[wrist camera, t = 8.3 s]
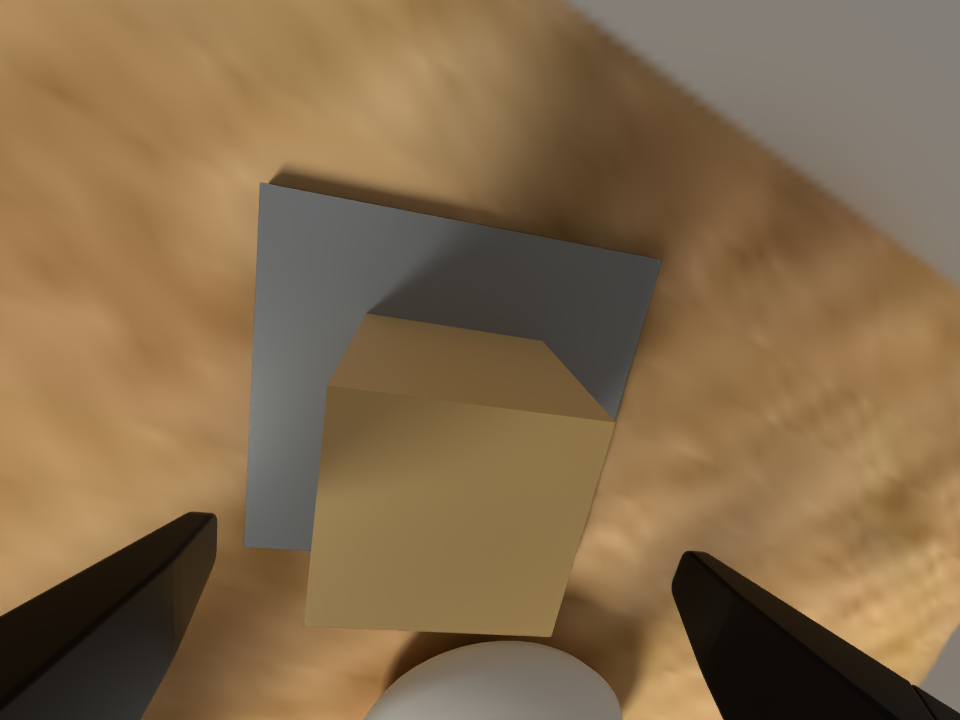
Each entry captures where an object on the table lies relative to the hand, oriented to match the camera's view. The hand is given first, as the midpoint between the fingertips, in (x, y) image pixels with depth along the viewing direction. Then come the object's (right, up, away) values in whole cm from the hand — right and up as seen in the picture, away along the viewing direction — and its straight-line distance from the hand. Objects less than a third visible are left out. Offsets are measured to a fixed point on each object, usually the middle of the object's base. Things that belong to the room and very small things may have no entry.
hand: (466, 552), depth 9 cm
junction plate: (-1, +2, +7) cm, 7 cm away
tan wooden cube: (-1, +2, +6) cm, 7 cm away
